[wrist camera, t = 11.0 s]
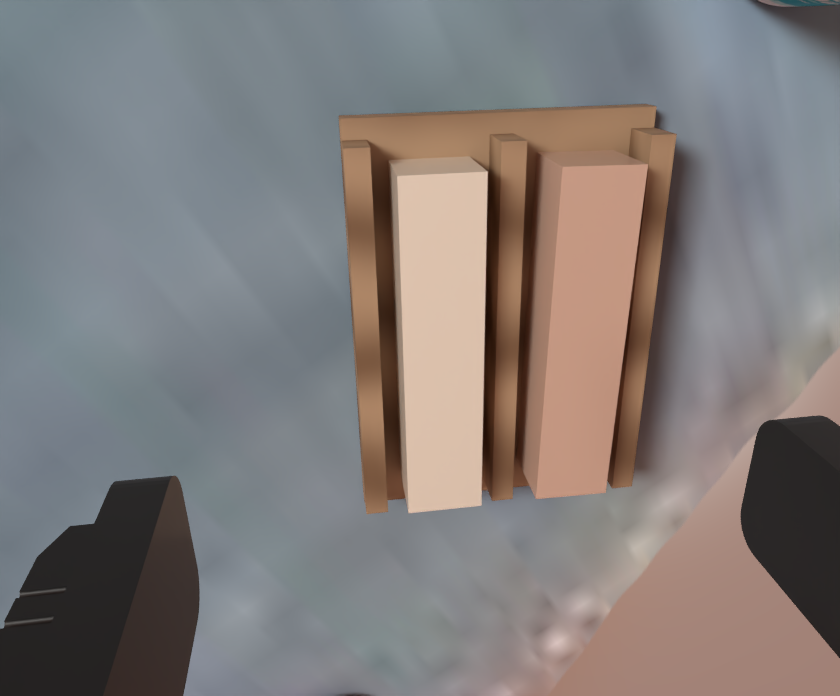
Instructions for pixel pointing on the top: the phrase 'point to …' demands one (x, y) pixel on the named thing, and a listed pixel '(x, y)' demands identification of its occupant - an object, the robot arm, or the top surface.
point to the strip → (439, 327)
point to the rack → (489, 267)
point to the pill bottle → (800, 2)
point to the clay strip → (577, 316)
